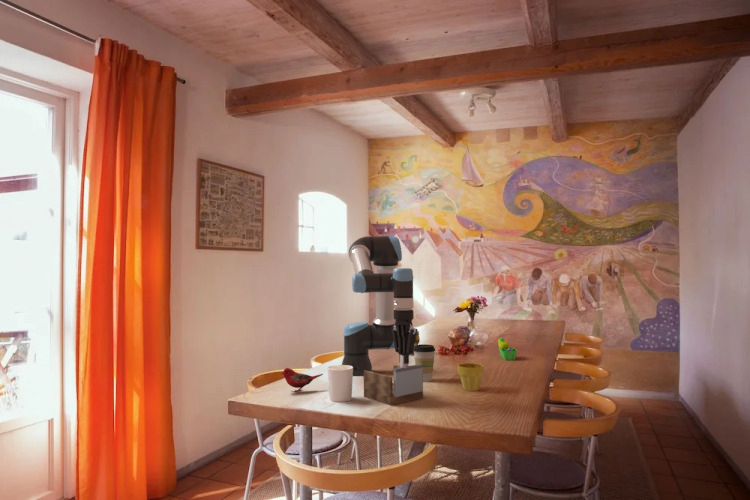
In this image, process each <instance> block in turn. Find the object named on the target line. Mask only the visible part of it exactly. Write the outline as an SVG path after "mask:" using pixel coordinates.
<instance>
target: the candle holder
mask: <svg viewBox="0 0 750 500" xmlns="http://www.w3.org/2000/svg"><path fill="white" fill-rule="evenodd" d="M327 376H328V378H327V380H328V393H329V400H330V401H331V402H336V403H344V402H349V401H351V400H352V396H353V381H354V380H353V378H354V377H353V376H354V375H353V367H352V366H349V365H342V364H337V365H330V366H328V367H327Z"/></svg>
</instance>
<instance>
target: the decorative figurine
mask: <svg viewBox="0 0 750 500" xmlns="http://www.w3.org/2000/svg"><path fill="white" fill-rule="evenodd" d="M414 329H416V328H415V327H414ZM420 341H421V339H420V331H419V330H418V331H417V333H416V336H415V343H414V346H415V345H420ZM409 356H415V355H414V351H413V353H412V354H409Z"/></svg>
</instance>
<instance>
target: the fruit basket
mask: <svg viewBox="0 0 750 500" xmlns="http://www.w3.org/2000/svg"><path fill="white" fill-rule="evenodd" d="M497 343H498V350H499V354H500V357H501V359H503V360H504V361H515V360H516V357H517V353H518V350H517V349H515V348H514V347H510V345H509V344H510V343H509V342H508V341H507V340H506V339H505V338H504V337H499V338H498V340H497Z"/></svg>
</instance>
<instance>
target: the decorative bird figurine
mask: <svg viewBox="0 0 750 500" xmlns="http://www.w3.org/2000/svg"><path fill="white" fill-rule="evenodd" d="M280 375H283V377H284V378H285V381H286V383H287V385H289V386H290V387H292V388H295V389H296V390H291V391H290V392H292V393H294V392H295V393H298V392H302V391H305V390H304V387H305V386H308V385H309V384H311V383H312V381H313V380H315V379H317V378H320V377H322V376H323V375H324V373H321V374H315V375H313V376H311V375H310V374H305V373H300V372H296V371H295V370H294V369H292V368H289V367H286V368H284V369H283V371H282V372H281V374H280Z"/></svg>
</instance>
